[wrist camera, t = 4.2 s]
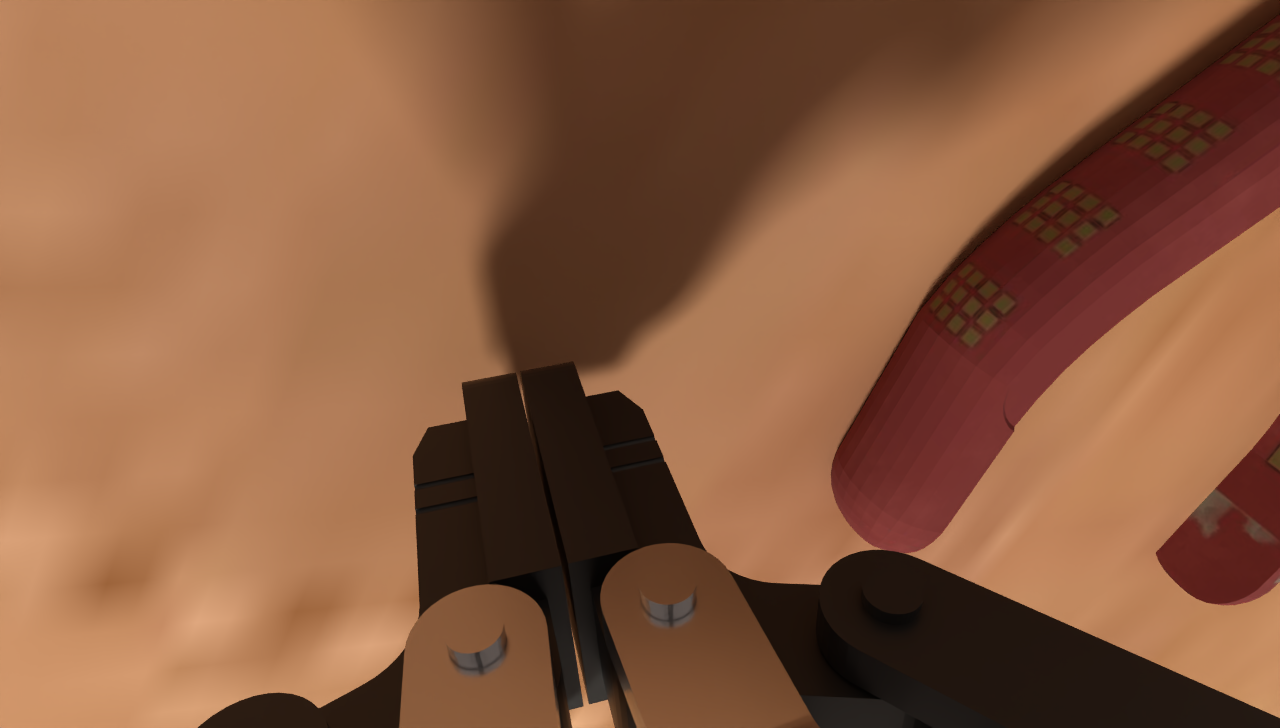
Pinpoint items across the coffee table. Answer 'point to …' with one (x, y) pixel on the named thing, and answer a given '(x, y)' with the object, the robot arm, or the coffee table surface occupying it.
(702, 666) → the robot arm
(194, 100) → the coffee table surface
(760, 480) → the coffee table surface
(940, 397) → the pliers
